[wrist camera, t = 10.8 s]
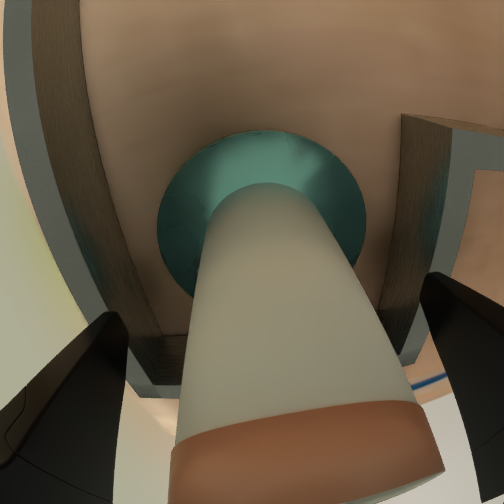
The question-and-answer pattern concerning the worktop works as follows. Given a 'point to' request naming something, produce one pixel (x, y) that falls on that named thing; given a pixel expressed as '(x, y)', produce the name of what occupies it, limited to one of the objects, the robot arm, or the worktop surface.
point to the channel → (215, 195)
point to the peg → (290, 370)
